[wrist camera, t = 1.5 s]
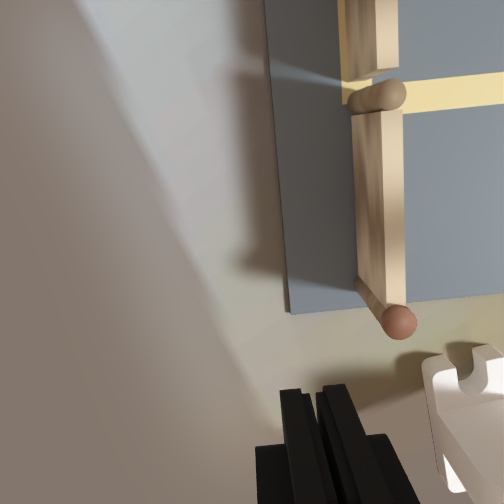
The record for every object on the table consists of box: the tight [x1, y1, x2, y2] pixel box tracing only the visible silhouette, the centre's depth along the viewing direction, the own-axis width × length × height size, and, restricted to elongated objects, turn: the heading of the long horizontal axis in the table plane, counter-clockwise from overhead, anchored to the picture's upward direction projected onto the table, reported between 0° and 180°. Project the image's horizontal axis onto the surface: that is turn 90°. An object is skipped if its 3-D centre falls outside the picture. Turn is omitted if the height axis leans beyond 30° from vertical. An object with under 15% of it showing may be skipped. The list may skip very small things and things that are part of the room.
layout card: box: [264, 0, 504, 315], centre depth 28 cm, size 25×18×1 cm
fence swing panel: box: [347, 78, 417, 340], centre depth 25 cm, size 13×2×7 cm, turn 6°
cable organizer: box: [421, 344, 504, 504], centre depth 29 cm, size 5×10×10 cm, turn 14°
